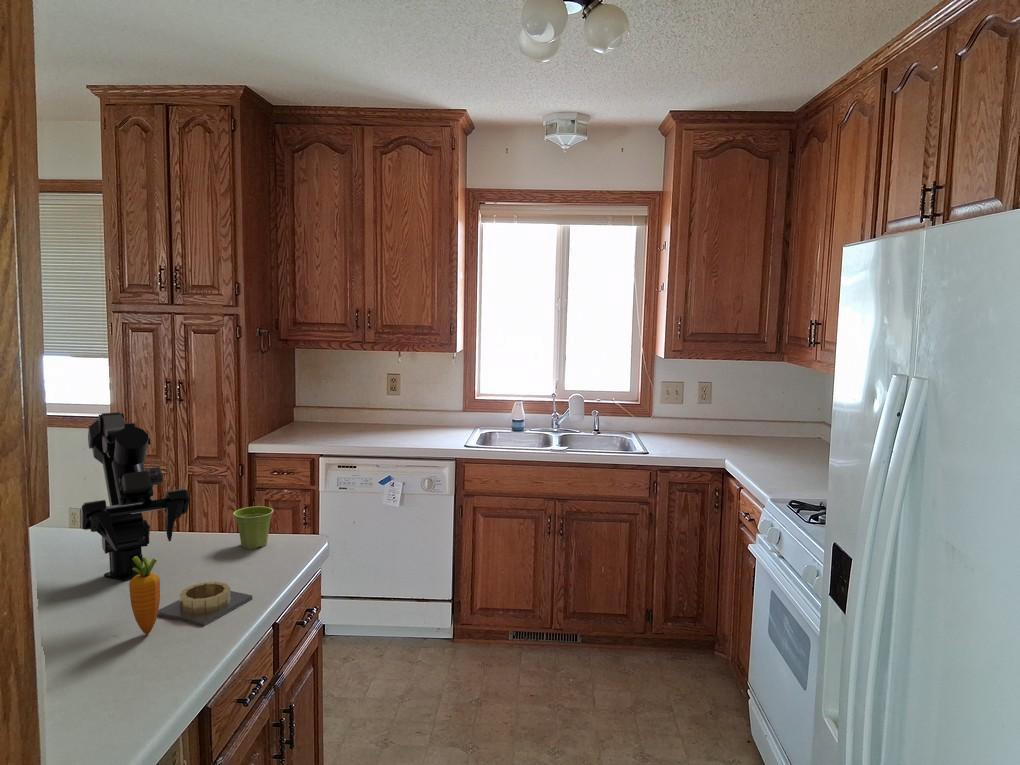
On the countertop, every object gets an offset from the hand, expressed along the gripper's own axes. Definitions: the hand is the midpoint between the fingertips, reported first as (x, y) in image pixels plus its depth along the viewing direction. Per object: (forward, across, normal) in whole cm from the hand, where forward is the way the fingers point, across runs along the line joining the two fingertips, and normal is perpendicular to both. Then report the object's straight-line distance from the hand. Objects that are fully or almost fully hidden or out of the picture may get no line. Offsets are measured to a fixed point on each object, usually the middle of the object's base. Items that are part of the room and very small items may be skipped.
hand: (144, 544), depth 133 cm
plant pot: (-12, +29, +30) cm, 43 cm away
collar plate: (+11, +10, +9) cm, 18 cm away
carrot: (+16, -1, +6) cm, 17 cm away
